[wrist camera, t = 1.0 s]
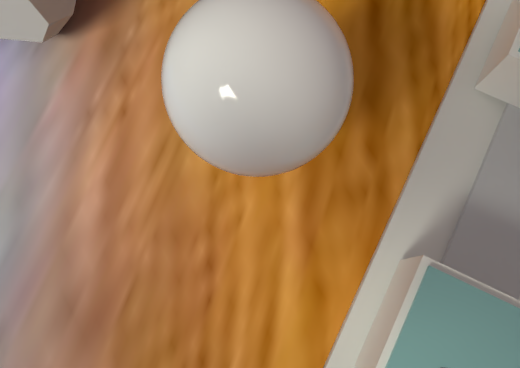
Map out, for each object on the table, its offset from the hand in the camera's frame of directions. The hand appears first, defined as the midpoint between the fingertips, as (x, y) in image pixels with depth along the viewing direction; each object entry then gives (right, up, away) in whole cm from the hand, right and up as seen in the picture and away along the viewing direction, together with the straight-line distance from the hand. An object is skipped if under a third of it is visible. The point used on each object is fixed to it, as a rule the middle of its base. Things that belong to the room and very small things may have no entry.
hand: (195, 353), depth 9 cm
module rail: (+13, +2, +14) cm, 19 cm away
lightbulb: (+1, +5, +15) cm, 16 cm away
